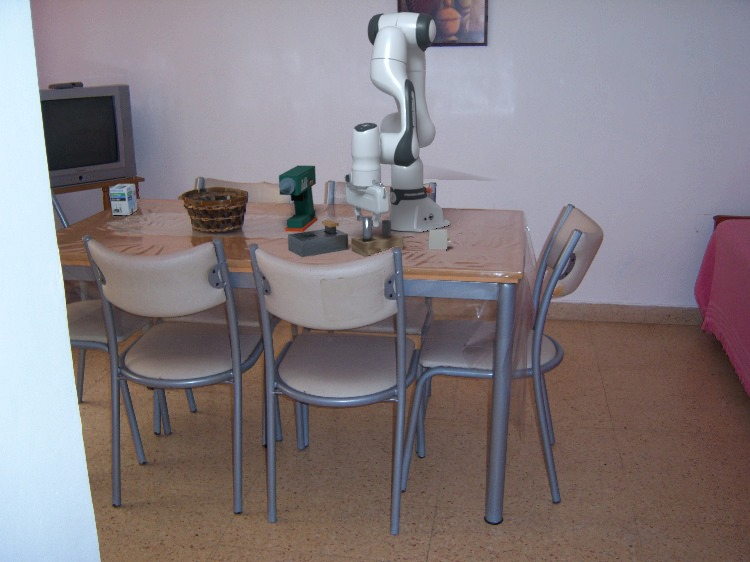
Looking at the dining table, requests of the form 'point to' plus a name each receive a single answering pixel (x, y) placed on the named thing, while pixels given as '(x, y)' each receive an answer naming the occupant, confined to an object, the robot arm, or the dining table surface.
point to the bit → (367, 229)
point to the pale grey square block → (438, 239)
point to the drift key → (330, 226)
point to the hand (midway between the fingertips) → (367, 223)
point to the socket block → (317, 242)
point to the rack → (377, 241)
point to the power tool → (299, 196)
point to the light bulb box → (123, 199)
